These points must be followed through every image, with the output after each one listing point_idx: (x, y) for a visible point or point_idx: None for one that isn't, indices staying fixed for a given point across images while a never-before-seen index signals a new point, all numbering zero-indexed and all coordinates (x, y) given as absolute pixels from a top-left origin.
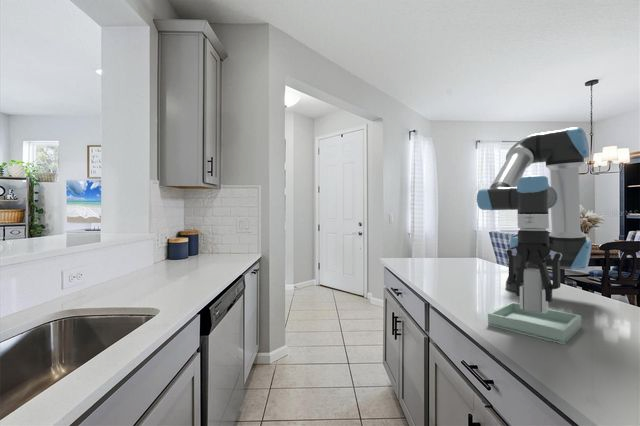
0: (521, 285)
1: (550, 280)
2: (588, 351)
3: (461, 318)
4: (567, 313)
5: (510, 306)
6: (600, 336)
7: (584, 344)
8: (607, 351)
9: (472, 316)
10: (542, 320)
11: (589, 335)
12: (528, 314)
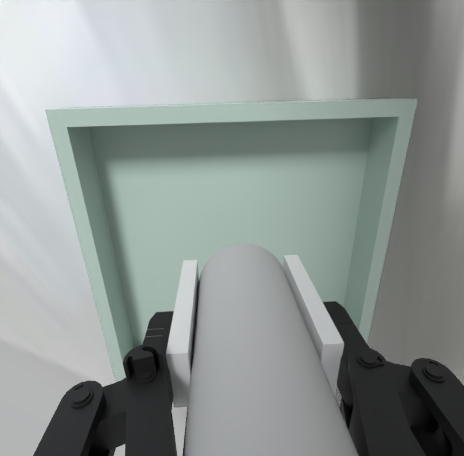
0: (170, 384)
1: (404, 418)
2: (398, 330)
3: (28, 350)
4: (356, 117)
5: (83, 171)
6: (440, 169)
7: (390, 289)
8: (441, 296)
9: (29, 304)
10: (247, 177)
11: (406, 189)
12: (167, 125)
